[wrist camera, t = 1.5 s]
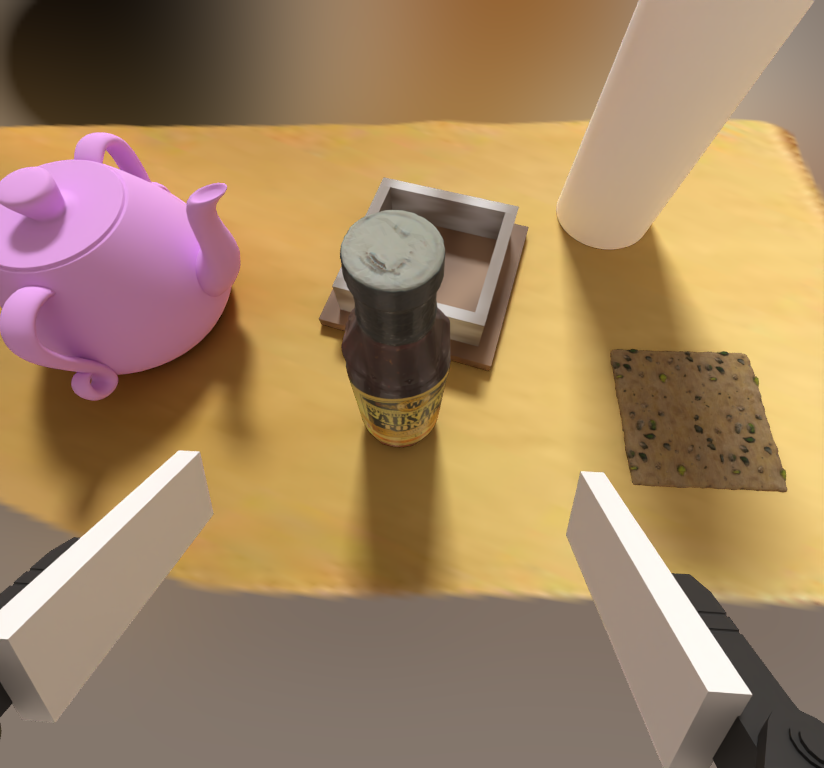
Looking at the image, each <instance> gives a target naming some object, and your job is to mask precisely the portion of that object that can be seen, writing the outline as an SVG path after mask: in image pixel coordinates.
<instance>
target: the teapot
mask: <svg viewBox="0 0 824 768" xmlns="http://www.w3.org/2000/svg"><path fill="white" fill-rule="evenodd" d="M105 150H107V151H108V153H109V154H110V155H111V156H112V158H113V159H114V160H115V162H116V163H117V165H118V167H119V168H120V169H117V168H114V167H111V166H108V165H105V164H102V162H103V157H104V153H105ZM226 190H227V185H226V184H224V183H214V184H210V185H207V186H204V187H202V188H200V189H198V190H197V191H195V192H194V193H193V194H192V195H191V196H190V197H189V199H188V201H187V204H186V203H185V202H183V201H182V200H180V199H179V198H177V197H176V196H174V195H173V194H171V193H170V191H169V190H168V189H167V188H166V187H165V186H163V185H162V184H159V183H156V182H151V181H150V179H149V177H148V175H147V173H146V171H145V169H144V167H143V165H142V164H141V162H140V160H139V159H138V157H137V155H136V154H135V152H134V151H133V150H132V148H131V147H130V146H129V145H128V144H127V143H126V142H125V141H124V140H122V139H121V138H119V137H118V136H115V135H113V134H109V133H92V134H88V135H86V136H84V137H83V138H82V139H81V140H79V142H78V144H77V146H76V149H75V154H74V160H63V161H56V162H51V163H47V164H44V165H41V166H37V167H27V168H22V169H19V170H16V171H14V172H12V173H10V174H9V175H7V176H6V177H5V178H3V179H2V180H1V181H0V306H1V308H2V311H1V315H0V332H1V336H2V338H3V340H4V342H5V344H6V345H7V347H8V348H9V349H10V350H11V351H12V352H13V353H15V354H16V355H17V356H19V357H21V358H22V359H24V360H27V361H29V362H31V363H34V364H37V365H41V366H45V367H49V368H55V369H61V370H68V371H75V372H77V373H76V374H75V375H74V376H73V378H72V381H71V386H72V389H73V391H74V392H75V393H76V394H77V395H78V396H80V397H82V398H84V399H87V400H100V399H104V398H105V397H107V396H109V395H110V394H111V393H112V392H113V391H114V390H115V389H116V387H117V385H118V376H117V375H120V374H130V373H135V372H141V371H144V370H148V369H151V368H154V367H157V366H160V365H162V364H165V363H167V362H170V361H172V360H174V359H175V358H177V357H179V356H181V355H183V354H184V353H186V352H187V351H189V350H190V349H192V348H193V347H194V346H195V345H197V344H198V343H199V342H200V341H201V340H202V339H203V338H204V337H205V336H206V335H207V334H208V333H209V332H210V331H211V329H212V328H213V327H214V326H215V324H216V323H217V321H218V319H219V318H220V316H221V314H222V313H223V310H224V308H225V306H226V303H227V301H228V298H229V295H230V291H231V286H232V285H233V283H234V282H235V279H236V277H237V275H238V273H239V269H240V251H239V248H238V246H237V243H236V241H235V239H234V238H233V236H232V235H231V233H230V232H229V230H228V229H227V228H226V227H225V225H224V224H223V222H222V221H221V220H220V218H219V216H218V214H217V211H216V204H217V202H218V201H219V199H220V198H221V197H222V196H223V195H224V193H225V191H226ZM90 379H92V382H91V384H90Z"/></svg>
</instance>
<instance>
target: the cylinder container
mask: <svg viewBox="0 0 824 768" xmlns="http://www.w3.org/2000/svg"><path fill="white" fill-rule="evenodd" d="M814 1H815V0H639V1H638V4H637V6H636V9H635V11H634V14H633V16H632V19H631V21H630V24H629V26H628V29H627V31H626V34H625V36H624V38H623V41H622V43H621V46H620V48H619V51H618V54H617V56H616V58H615V61H614V63H613V66H612V68H611V71H610V73H609V76H608V78H607V81H606V83H605V86H604V88H603V91H602V93H601V96H600V98H599V101H598V103H597V105H596V108H595V110H594V113H593V115H592V118H591V120H590V123H589V125H588V128H587V130H586V133H585V135H584V138H583V140H582V143H581V145H580V148H579V150H578V152H577V155H576V157H575V160H574V162H573V165H572V167H571V170H570V172H569V175H568V177H567V180H566V182H565V185H564V187H563V190H562V192H561V195H560V197H559V200H558V202H557V207H556V212H557V217H558V220H559V223H560V224H561V226H562V227H563V229H564V230H565V231H566V232H567V233H568V234H569V235H570V236H571V237H573V238H574V239H576V240H577V241H579V242H581V243H583V244H585V245H588V246H591V247H594V248H599V249H620V248H624V247H628V246H630V245H632V244H634V243H636V242H637V241H639V240H640V239H641V238H642V237H643V235H644V234H645V233H646V231H647V230H648V229H649V227H650V226H651V225H652V223H653V222H654V220H655V219H656V218H657V216H658V215H659V214H660V212H661V211H662V209H663V208H664V207H665V205H666V204H667V203H668V201H669V200H670V198H671V197H672V196H673V194H674V193H675V192H676V190H677V189H678V187H679V186H680V185H681V183H682V182H683V181H684V179H685V178H686V176H687V175H688V174H689V172H690V171H691V170H692V168H693V167H694V166H695V164H696V163H697V161H698V160H699V159H700V157H701V156H702V155H703V153H704V152H705V150H706V149H707V148H708V146H709V145H710V144H711V142H712V141H713V139H714V138H715V137H716V135H717V134H718V133H719V131H720V130H721V128H722V127H723V126H724V124H725V123H726V122H727V120H728V119H729V118H730V116H731V115H732V113H733V112H734V111H735V109H736V108H737V107H738V105H739V104H740V102H741V101H742V100H743V98H744V97H745V96H746V94H747V93H748V91H749V90H750V88H751V87H752V86H753V85H754V83H755V82H756V80H757V79H758V78H759V76H760V75H761V74H762V72H763V71H764V69H765V68H766V67H767V65H768V64H769V62H770V61H771V60H772V58H773V57H774V56H775V54H776V53H777V52H778V50H779V49H780V47H781V46H782V45H783V43H784V42H785V41H786V39H787V38H788V37H789V35H790V34H791V32H792V31H793V30H794V28H795V27H796V25H797V24H798V23H799V21H800V20H801V19H802V17H803V16H804V15H805V13H806V12H807V10H808V9H809V8H810V6H811V5H812V4H813V2H814Z"/></svg>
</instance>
